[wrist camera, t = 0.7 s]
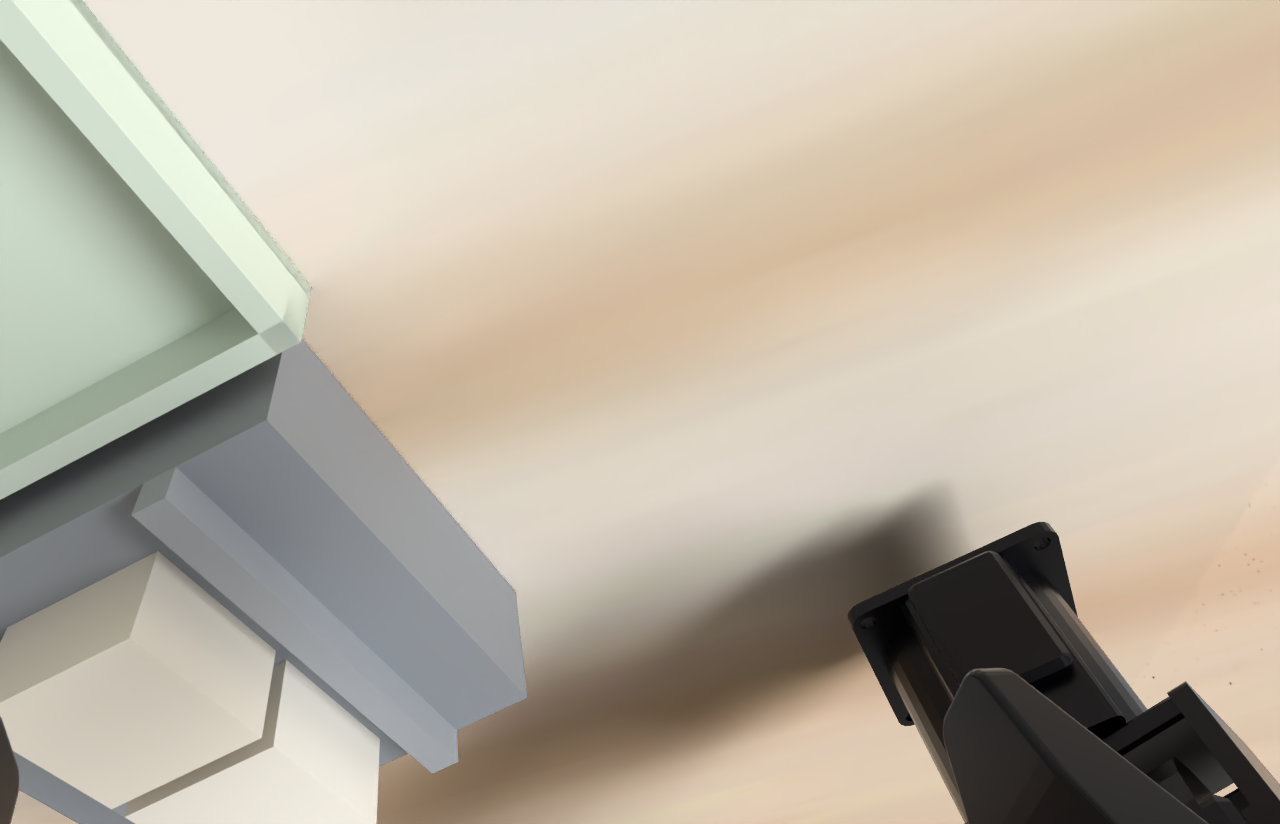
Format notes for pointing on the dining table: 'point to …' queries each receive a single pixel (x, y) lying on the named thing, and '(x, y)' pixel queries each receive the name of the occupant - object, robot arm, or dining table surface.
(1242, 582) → the dining table surface
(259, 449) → the bench board
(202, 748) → the tile
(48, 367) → the tray
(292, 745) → the tile
